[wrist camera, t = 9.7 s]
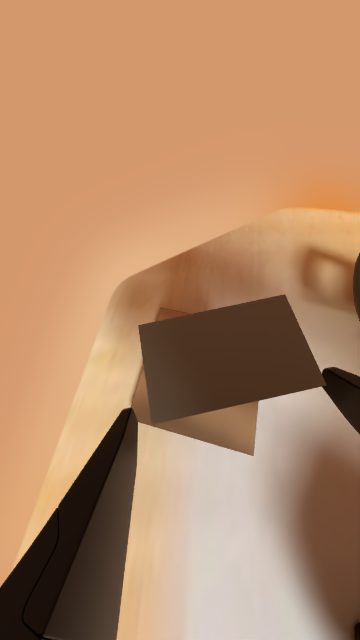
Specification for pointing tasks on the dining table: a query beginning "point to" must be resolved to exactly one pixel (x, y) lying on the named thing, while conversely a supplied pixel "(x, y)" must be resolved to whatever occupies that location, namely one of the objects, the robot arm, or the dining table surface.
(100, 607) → the robot arm
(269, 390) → the picture frame
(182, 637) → the dining table surface
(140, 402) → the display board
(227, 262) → the dining table surface
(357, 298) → the zipper pull
